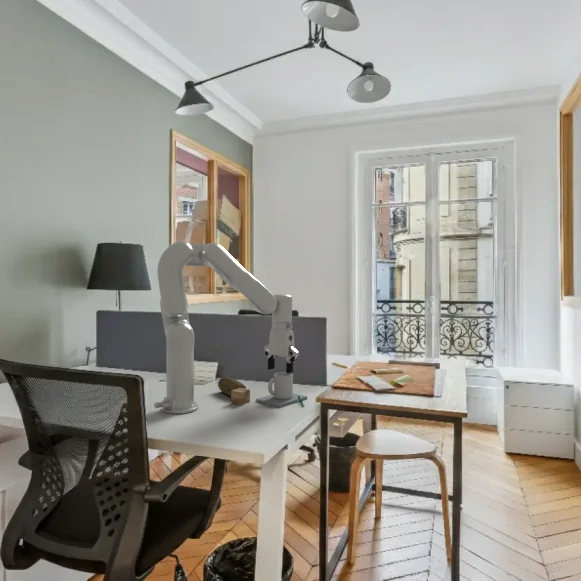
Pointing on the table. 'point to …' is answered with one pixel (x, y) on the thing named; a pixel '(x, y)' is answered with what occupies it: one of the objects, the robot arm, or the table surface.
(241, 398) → the walnut block
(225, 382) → the brown rounded cylinder
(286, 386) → the cup
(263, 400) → the mat
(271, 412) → the table surface
